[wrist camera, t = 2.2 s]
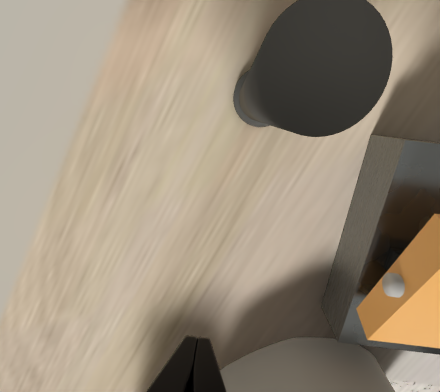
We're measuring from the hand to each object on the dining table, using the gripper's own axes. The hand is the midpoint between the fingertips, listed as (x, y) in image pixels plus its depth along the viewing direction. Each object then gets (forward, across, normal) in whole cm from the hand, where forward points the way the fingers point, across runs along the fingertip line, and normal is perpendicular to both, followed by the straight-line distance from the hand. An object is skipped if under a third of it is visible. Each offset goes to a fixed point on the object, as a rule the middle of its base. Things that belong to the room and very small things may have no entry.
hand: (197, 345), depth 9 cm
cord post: (+8, -2, -9) cm, 12 cm away
